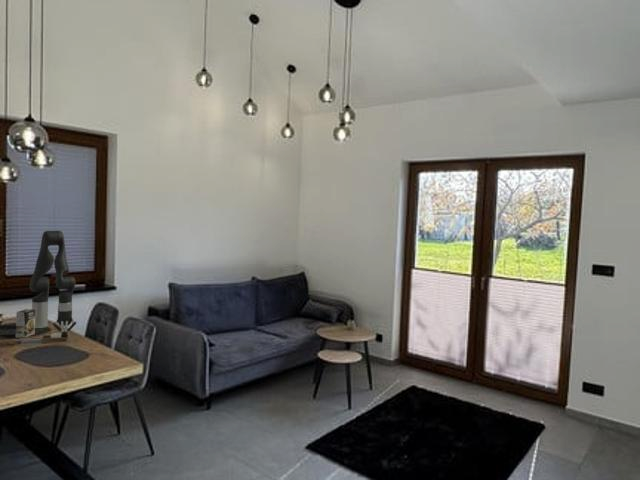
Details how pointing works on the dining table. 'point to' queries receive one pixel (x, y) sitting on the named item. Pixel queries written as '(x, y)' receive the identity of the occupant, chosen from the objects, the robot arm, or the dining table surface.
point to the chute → (53, 339)
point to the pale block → (56, 335)
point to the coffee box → (25, 323)
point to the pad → (31, 342)
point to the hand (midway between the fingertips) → (64, 337)
